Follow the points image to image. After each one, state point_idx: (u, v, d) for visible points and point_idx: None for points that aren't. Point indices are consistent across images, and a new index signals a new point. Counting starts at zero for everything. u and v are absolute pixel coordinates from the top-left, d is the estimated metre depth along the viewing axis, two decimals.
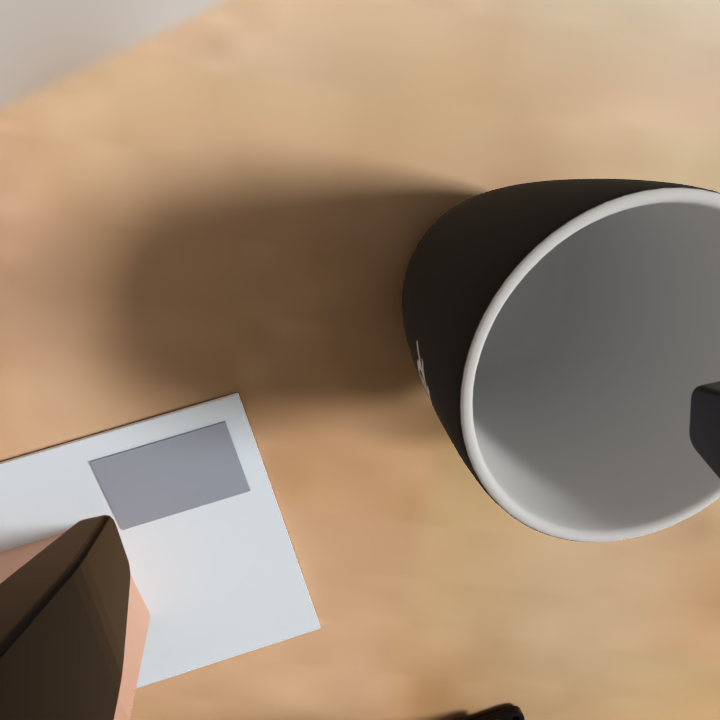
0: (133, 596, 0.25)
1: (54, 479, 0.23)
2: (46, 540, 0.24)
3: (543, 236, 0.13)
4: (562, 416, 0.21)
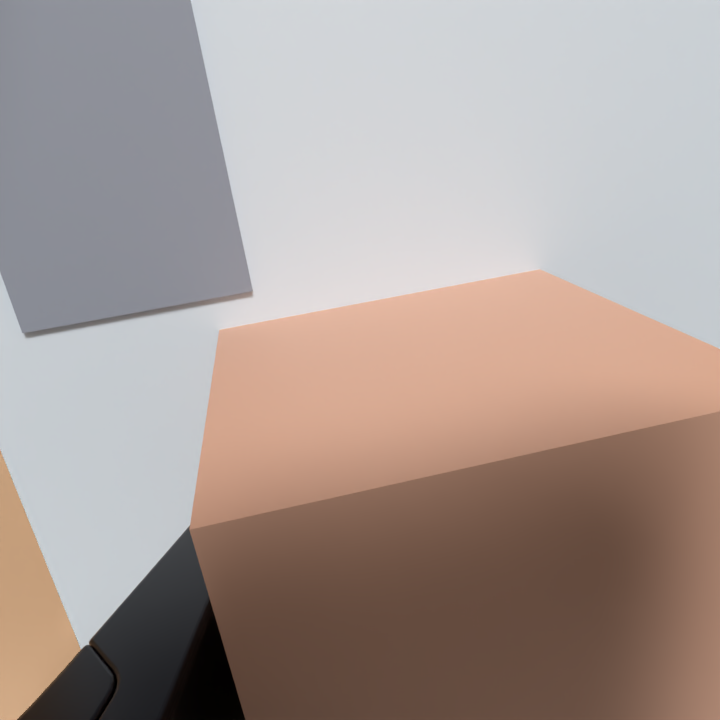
0: (451, 297, 0.09)
1: (78, 421, 0.09)
2: None
3: None
4: None
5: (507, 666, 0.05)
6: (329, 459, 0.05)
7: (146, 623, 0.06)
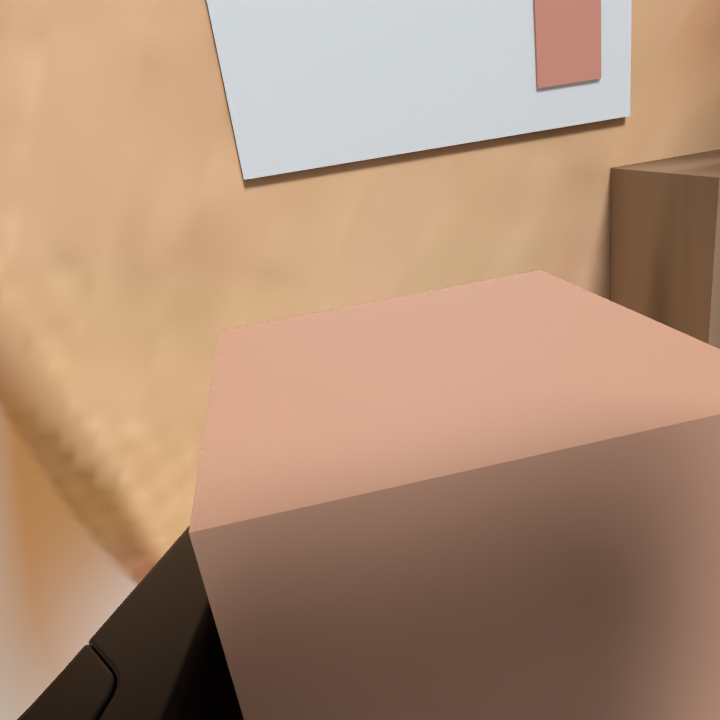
0: (451, 298, 0.09)
1: None
2: None
3: None
4: None
5: (509, 671, 0.05)
6: (330, 461, 0.05)
7: (146, 623, 0.06)
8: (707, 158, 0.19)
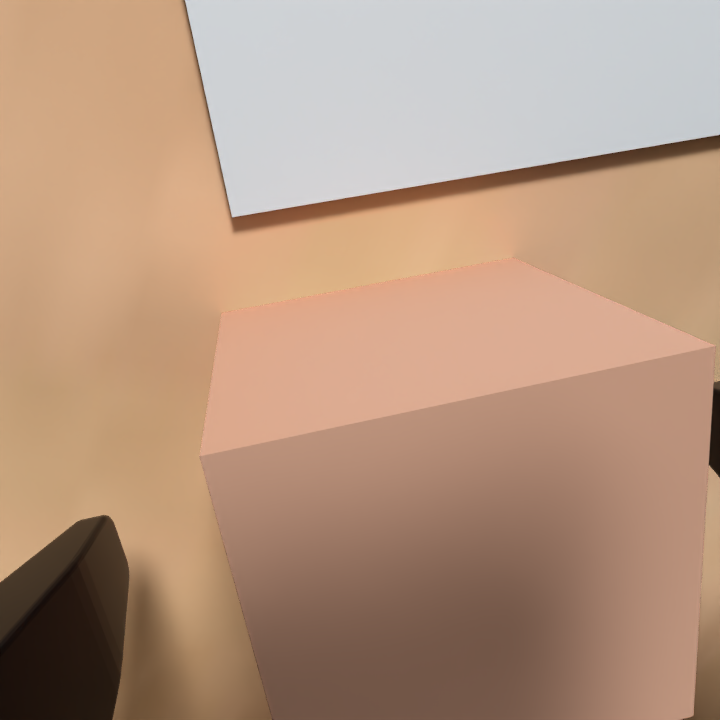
0: (429, 282, 0.10)
1: None
2: None
3: None
4: None
5: (466, 582, 0.06)
6: (315, 405, 0.06)
7: None
8: None
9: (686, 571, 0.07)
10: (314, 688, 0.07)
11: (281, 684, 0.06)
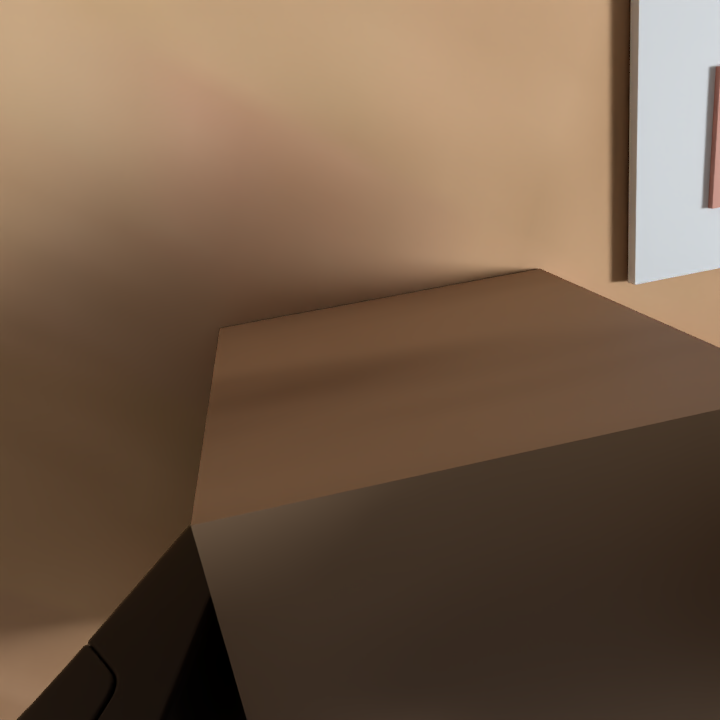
0: None
1: None
2: None
3: None
4: None
5: None
6: None
7: (146, 623, 0.06)
8: None
9: None
10: None
11: None
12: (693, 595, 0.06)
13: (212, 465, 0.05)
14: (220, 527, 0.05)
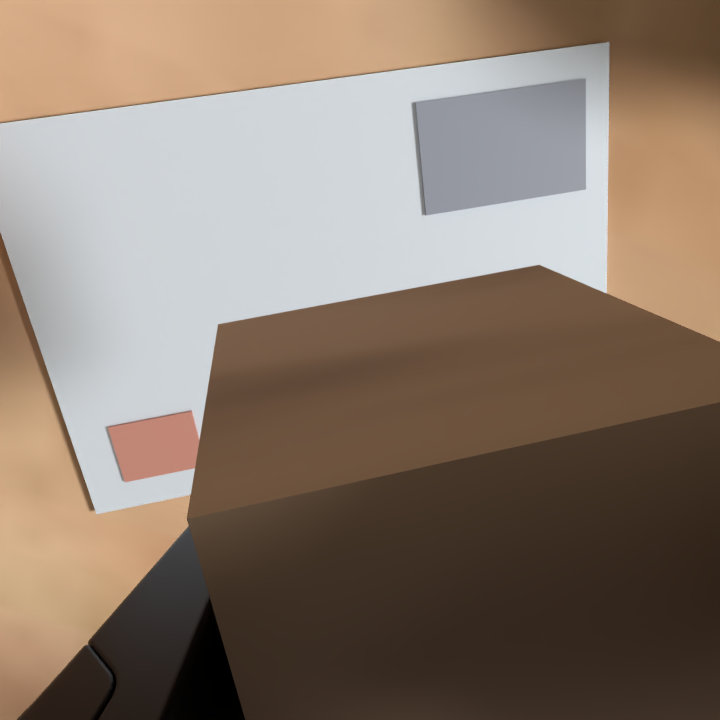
0: None
1: (365, 120, 0.18)
2: None
3: None
4: None
5: None
6: None
7: (146, 623, 0.06)
8: None
9: None
10: None
11: None
12: (693, 590, 0.06)
13: (209, 459, 0.05)
14: (216, 520, 0.04)
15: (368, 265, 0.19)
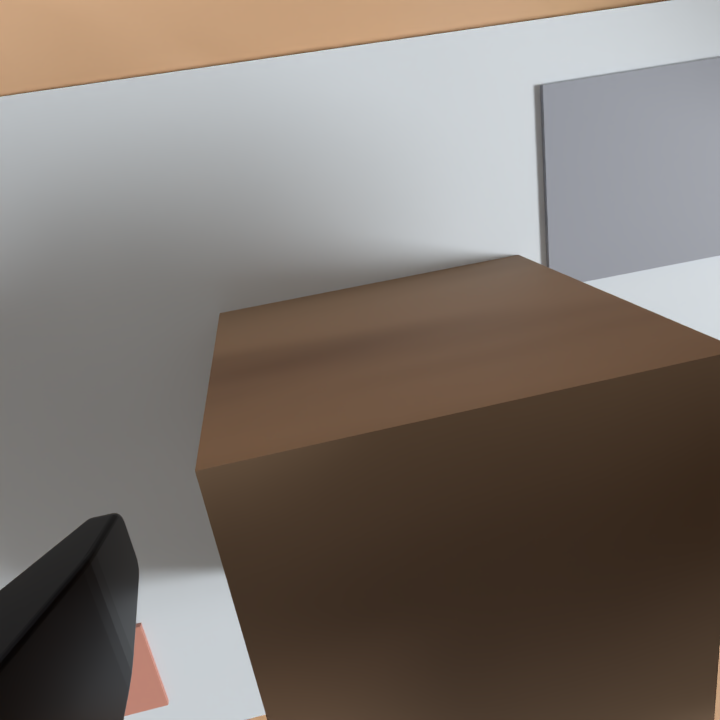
0: None
1: (448, 120, 0.09)
2: None
3: None
4: None
5: None
6: None
7: None
8: None
9: None
10: None
11: None
12: (643, 538, 0.06)
13: (213, 424, 0.06)
14: (220, 473, 0.05)
15: None
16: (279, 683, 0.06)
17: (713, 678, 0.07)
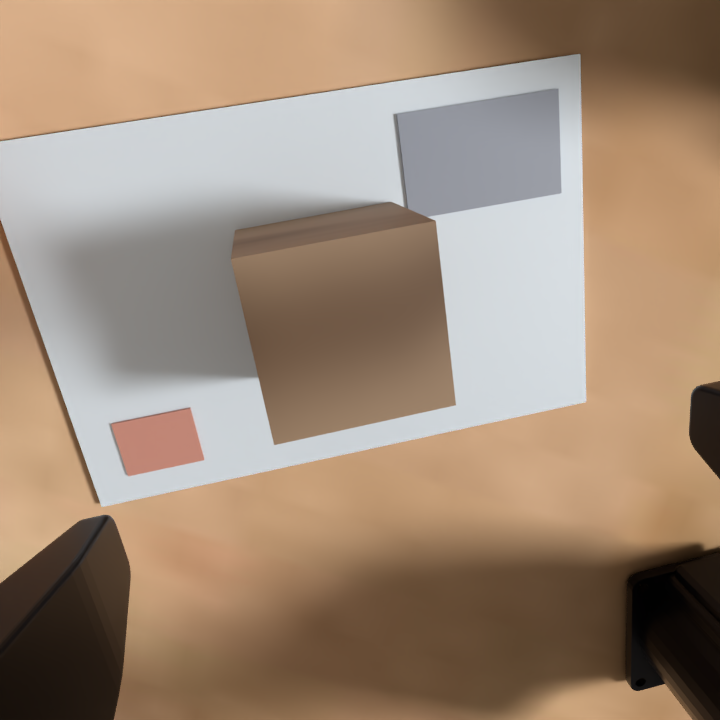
0: None
1: (349, 131, 0.19)
2: None
3: None
4: None
5: None
6: None
7: None
8: None
9: None
10: None
11: None
12: (408, 301, 0.15)
13: (236, 252, 0.15)
14: (239, 260, 0.14)
15: None
16: (261, 355, 0.15)
17: (452, 376, 0.16)
